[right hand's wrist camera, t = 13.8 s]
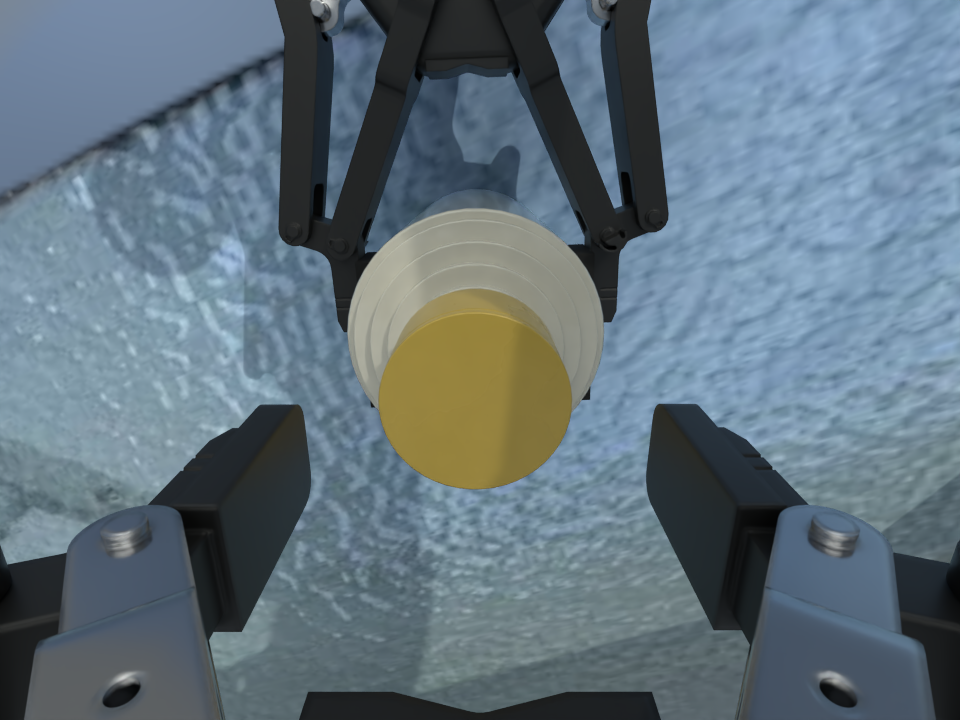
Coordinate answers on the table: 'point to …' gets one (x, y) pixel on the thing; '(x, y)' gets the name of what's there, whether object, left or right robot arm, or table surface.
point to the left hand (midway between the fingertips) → (480, 391)
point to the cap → (475, 391)
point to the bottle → (476, 281)
